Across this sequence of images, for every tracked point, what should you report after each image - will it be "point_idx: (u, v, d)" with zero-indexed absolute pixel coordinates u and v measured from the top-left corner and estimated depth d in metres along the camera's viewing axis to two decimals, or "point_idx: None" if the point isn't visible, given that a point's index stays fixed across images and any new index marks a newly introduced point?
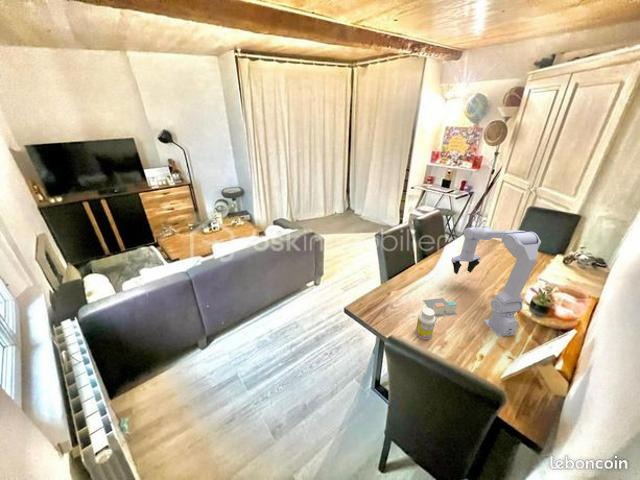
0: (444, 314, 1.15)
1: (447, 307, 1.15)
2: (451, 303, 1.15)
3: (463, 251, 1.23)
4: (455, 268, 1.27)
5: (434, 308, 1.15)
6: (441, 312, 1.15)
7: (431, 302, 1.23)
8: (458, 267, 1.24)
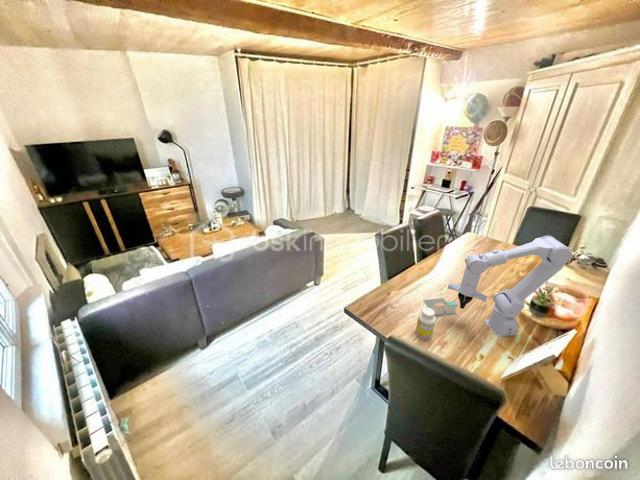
0: (444, 314, 1.15)
1: (447, 307, 1.15)
2: (451, 303, 1.15)
3: (462, 280, 1.03)
4: None
5: (434, 308, 1.15)
6: (441, 312, 1.15)
7: (431, 302, 1.23)
8: (460, 299, 1.05)
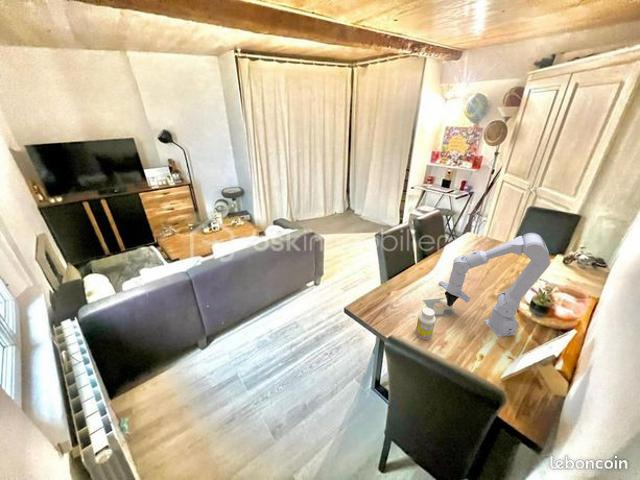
0: (444, 314, 1.15)
1: (440, 302, 1.20)
2: None
3: None
4: None
5: (434, 308, 1.15)
6: (441, 312, 1.15)
7: (431, 302, 1.23)
8: (446, 297, 1.14)
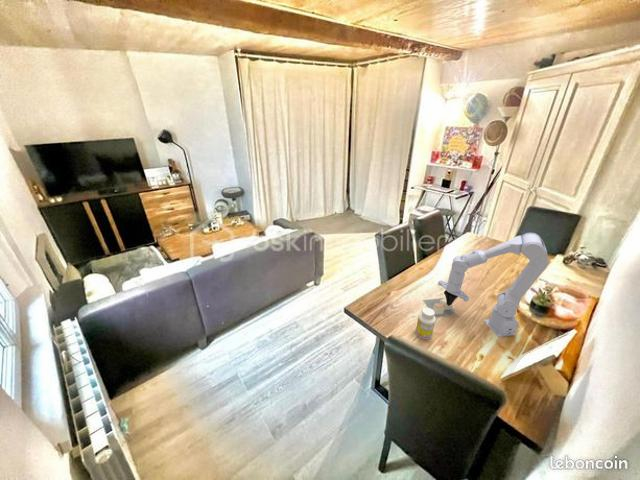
0: (444, 314, 1.15)
1: (440, 302, 1.20)
2: None
3: None
4: None
5: (434, 308, 1.15)
6: (441, 312, 1.15)
7: (431, 302, 1.23)
8: (446, 296, 1.15)
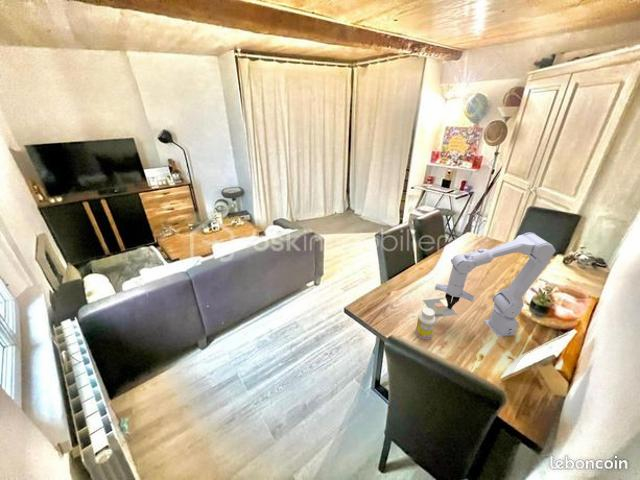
0: (444, 314, 1.15)
1: (440, 302, 1.20)
2: None
3: None
4: None
5: (434, 308, 1.15)
6: (441, 312, 1.15)
7: (431, 302, 1.23)
8: (448, 300, 1.04)
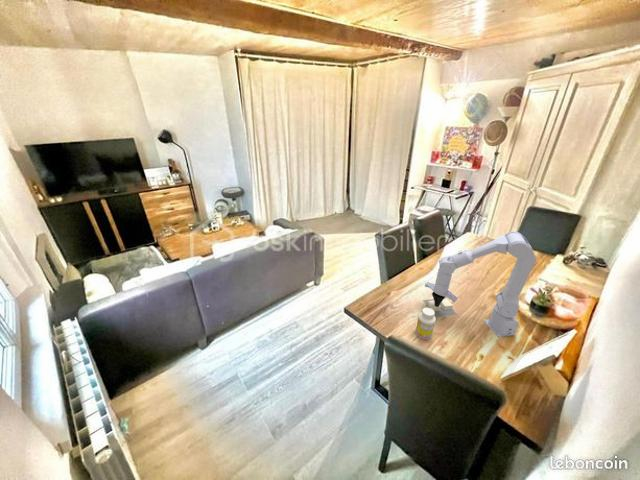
0: (444, 314, 1.15)
1: None
2: None
3: None
4: None
5: (429, 305, 1.19)
6: None
7: None
8: (434, 297, 1.14)
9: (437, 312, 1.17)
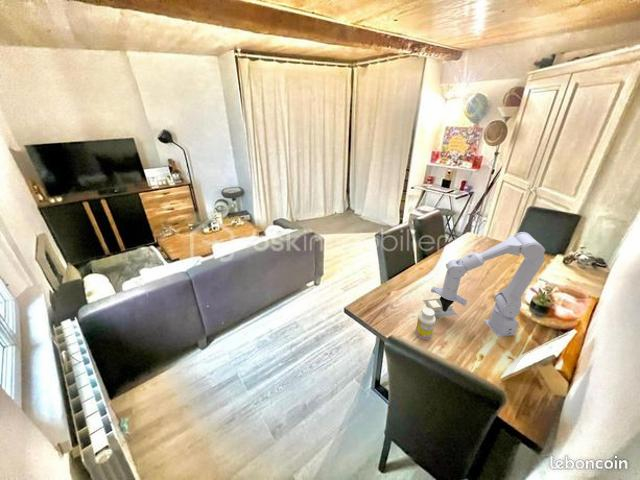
0: (444, 314, 1.15)
1: (440, 302, 1.20)
2: None
3: None
4: None
5: (429, 305, 1.19)
6: (437, 305, 1.18)
7: None
8: (442, 303, 1.09)
9: (437, 312, 1.17)
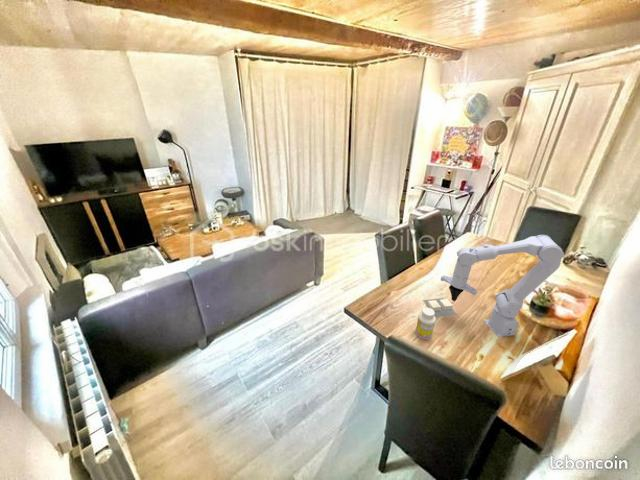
0: (444, 314, 1.15)
1: (440, 302, 1.20)
2: None
3: None
4: None
5: (429, 305, 1.19)
6: (437, 305, 1.18)
7: None
8: (451, 291, 1.08)
9: (437, 312, 1.17)
